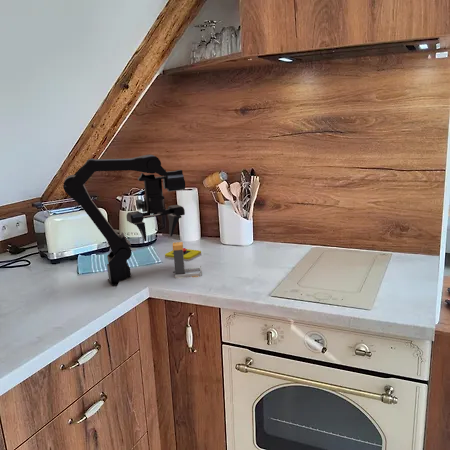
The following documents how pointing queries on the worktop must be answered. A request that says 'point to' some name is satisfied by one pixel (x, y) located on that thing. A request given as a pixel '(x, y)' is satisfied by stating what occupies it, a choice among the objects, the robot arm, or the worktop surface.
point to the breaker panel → (190, 274)
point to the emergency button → (185, 254)
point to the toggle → (178, 258)
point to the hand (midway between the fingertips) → (158, 238)
